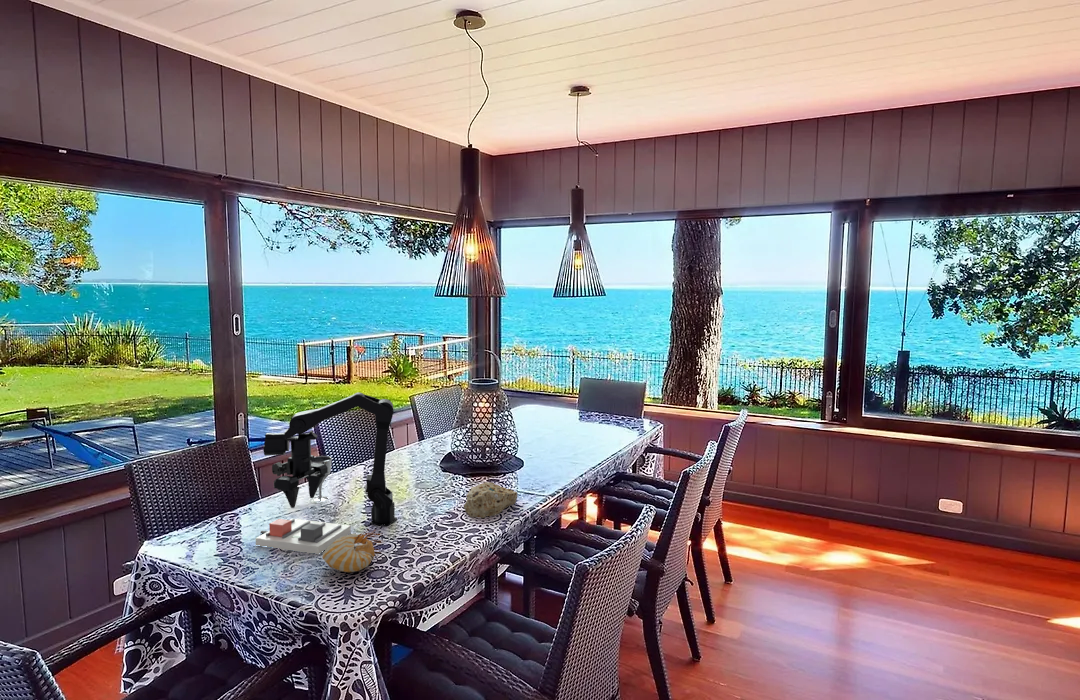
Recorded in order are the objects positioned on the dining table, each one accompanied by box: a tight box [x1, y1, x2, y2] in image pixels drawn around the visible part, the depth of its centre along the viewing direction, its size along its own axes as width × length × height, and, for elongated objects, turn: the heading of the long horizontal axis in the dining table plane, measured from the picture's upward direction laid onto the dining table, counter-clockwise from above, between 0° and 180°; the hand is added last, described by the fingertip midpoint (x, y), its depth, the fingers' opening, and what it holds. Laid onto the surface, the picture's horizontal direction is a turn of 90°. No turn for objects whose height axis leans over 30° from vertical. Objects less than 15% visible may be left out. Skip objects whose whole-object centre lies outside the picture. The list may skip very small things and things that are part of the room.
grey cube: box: [301, 523, 323, 542], centre depth 172 cm, size 4×4×4 cm
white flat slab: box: [255, 518, 352, 555], centre depth 178 cm, size 26×16×3 cm, turn 75°
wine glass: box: [311, 455, 332, 501], centre depth 211 cm, size 8×8×15 cm
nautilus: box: [321, 529, 384, 573], centre depth 162 cm, size 8×22×15 cm
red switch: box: [268, 518, 292, 537], centre depth 175 cm, size 4×4×4 cm
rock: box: [463, 481, 518, 519], centre depth 204 cm, size 21×14×10 cm
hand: (302, 502), depth 185 cm, fingers open, 9 cm apart
